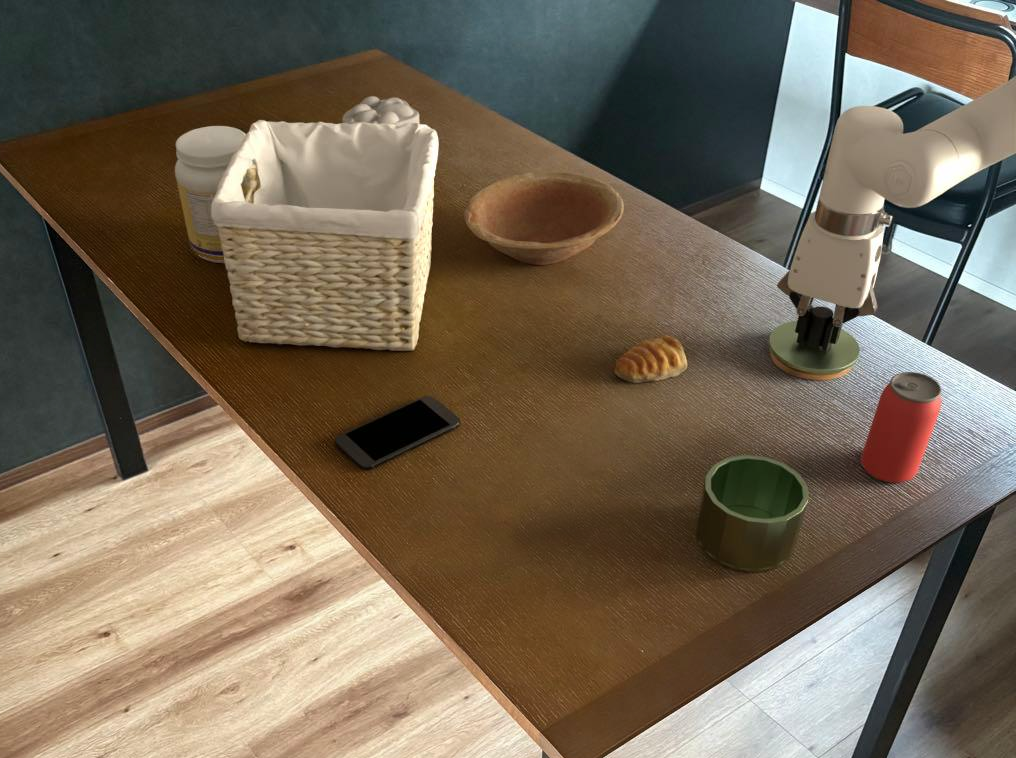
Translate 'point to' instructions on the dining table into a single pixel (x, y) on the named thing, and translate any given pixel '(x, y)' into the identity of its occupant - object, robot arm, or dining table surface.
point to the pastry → (652, 360)
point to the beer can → (902, 427)
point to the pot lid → (814, 345)
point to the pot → (751, 513)
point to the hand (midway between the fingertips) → (815, 341)
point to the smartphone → (396, 432)
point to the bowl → (543, 215)
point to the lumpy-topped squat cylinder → (382, 112)
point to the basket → (329, 232)
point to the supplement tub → (204, 181)
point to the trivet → (807, 374)
